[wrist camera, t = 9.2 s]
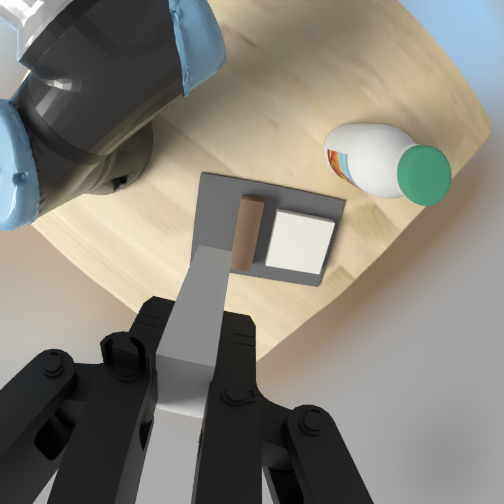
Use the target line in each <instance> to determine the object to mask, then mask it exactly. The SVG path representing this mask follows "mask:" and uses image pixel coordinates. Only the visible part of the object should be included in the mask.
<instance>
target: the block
mask: <svg viewBox="0 0 504 504" xmlns="http://www.w3.org/2000/svg"><path fill="white" fill-rule="evenodd" d="M263 208H264V198H258V197H253V196H247V195H242V197H241V202H240V207H239V213H238V219H237V224H236V230H235V236H234V242H233V248H232V259H231V265H230V268H231V269H236V270H242V271H248V272H250V271H251V266H252V261H253V256H254V252H255V247H256V242H257V237H258V232H259V227H260V222H261V218H262V213H263Z"/></svg>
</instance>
